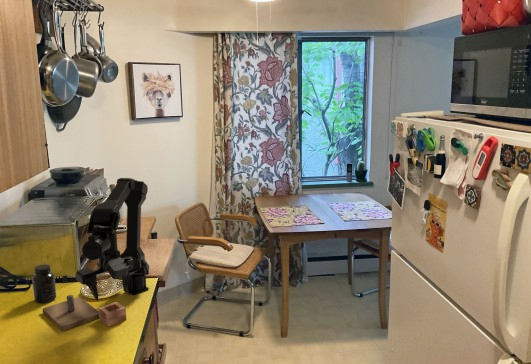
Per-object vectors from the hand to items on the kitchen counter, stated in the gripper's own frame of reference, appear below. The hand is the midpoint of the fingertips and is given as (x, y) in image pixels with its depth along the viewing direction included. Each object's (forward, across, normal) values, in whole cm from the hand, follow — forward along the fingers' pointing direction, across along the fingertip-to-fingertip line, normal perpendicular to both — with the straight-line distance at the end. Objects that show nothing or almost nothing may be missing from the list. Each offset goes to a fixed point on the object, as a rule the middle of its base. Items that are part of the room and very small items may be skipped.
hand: (111, 295), depth 139 cm
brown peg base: (+8, -8, +12) cm, 17 cm away
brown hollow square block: (+8, 0, 0) cm, 8 cm away
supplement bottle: (+8, -10, +29) cm, 32 cm away
